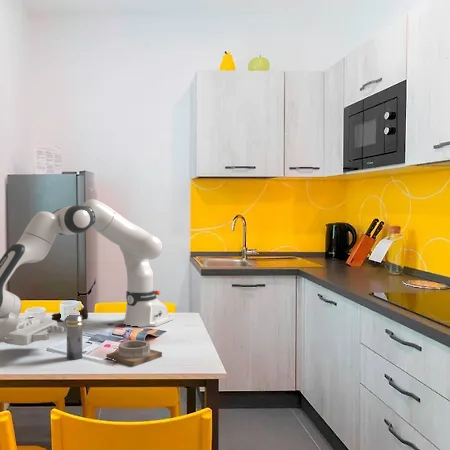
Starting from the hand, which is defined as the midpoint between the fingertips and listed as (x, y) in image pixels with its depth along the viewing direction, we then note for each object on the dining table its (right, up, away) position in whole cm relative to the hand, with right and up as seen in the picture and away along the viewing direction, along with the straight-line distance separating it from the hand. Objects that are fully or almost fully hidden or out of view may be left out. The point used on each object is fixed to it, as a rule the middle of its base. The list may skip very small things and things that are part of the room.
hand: (55, 333), depth 169 cm
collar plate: (+27, -8, -1) cm, 28 cm away
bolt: (-12, -6, +53) cm, 54 cm away
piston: (+7, -8, -1) cm, 10 cm away
